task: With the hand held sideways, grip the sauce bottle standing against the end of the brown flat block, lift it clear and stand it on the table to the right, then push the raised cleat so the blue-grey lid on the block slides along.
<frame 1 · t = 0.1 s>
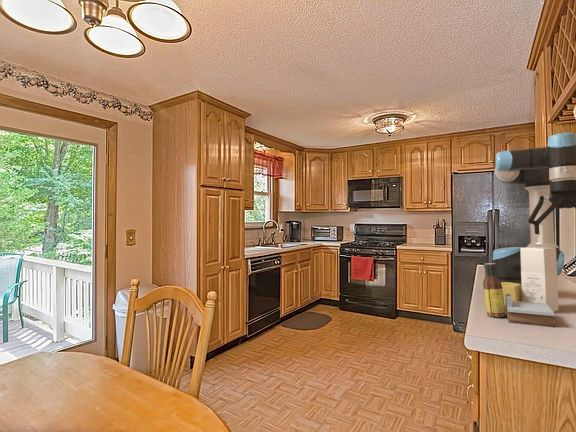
hand: (566, 244, 110), 28 cm above the table, tool pointing down, fingers open, 13 cm apart
tall white carton: (540, 310, 134), on the table
lid: (527, 303, 121), point 6 cm above the table, slide at 0.0 cm
sauce bottle: (495, 316, 126), on the table
brown flat block: (528, 319, 121), on the table
cheese: (505, 308, 139), on the table
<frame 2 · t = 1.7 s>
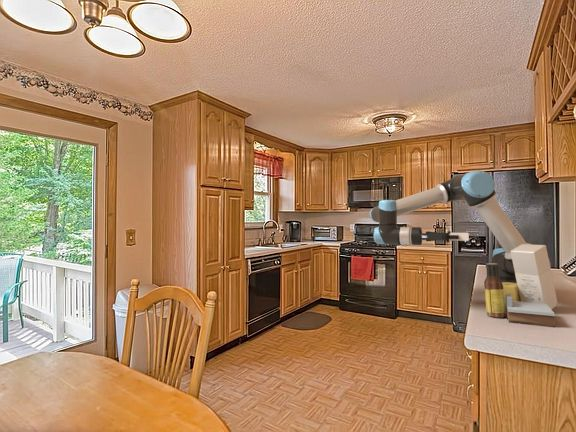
hand: (468, 236, 131), 30 cm above the table, tool horizontal, fingers open, 13 cm apart
tall white carton: (540, 307, 134), point 1 cm above the table
everything else where it was.
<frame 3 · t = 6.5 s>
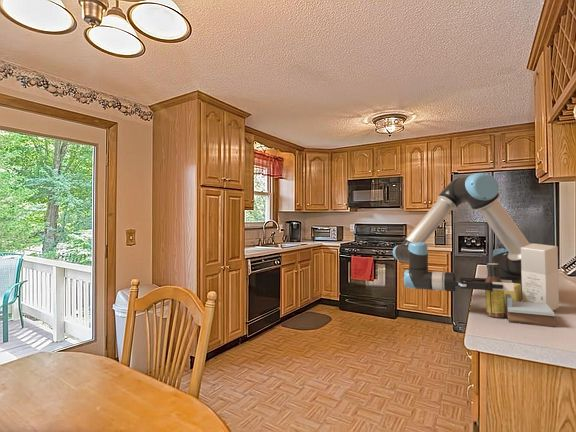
hand: (512, 285, 123), 12 cm above the table, tool horizontal, fingers closed on sauce bottle, 6 cm apart
tall white carton: (540, 307, 134), point 1 cm above the table, touching arm
sauce bottle: (495, 316, 126), on the table, touching gripper
everything else where it was.
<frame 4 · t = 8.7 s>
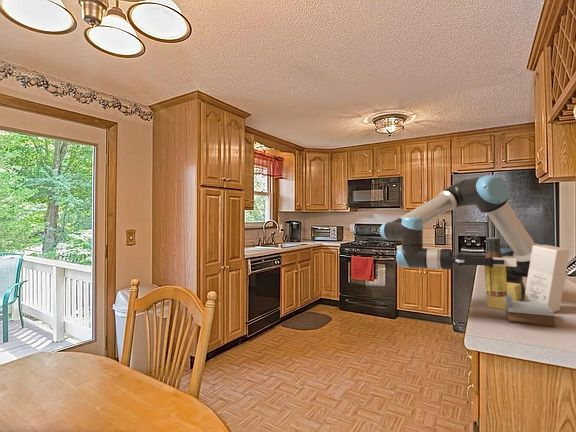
hand: (515, 261, 112), 22 cm above the table, tool horizontal, fingers closed on sauce bottle, 6 cm apart
tall white carton: (540, 308, 134), point 1 cm above the table
sauce bottle: (496, 296, 114), point 10 cm above the table, touching gripper
everything else where it was.
when the fingers open (12 cm above the table, at t = 10.9 s): sauce bottle stays where it is, on the table.
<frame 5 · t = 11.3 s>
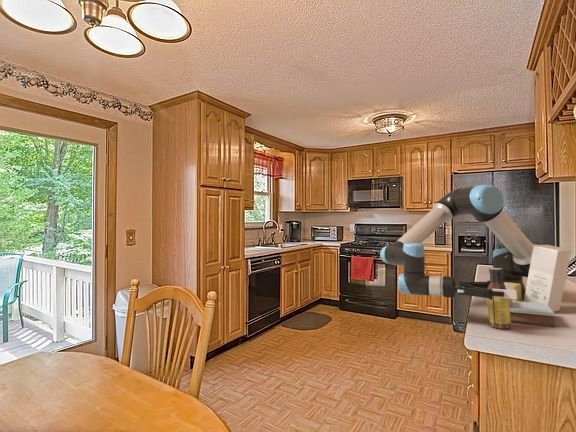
hand: (514, 291, 111), 12 cm above the table, tool horizontal, fingers open, 11 cm apart
tall white carton: (540, 308, 134), point 1 cm above the table, touching arm
sauce bottle: (499, 327, 113), on the table
everything else where it was.
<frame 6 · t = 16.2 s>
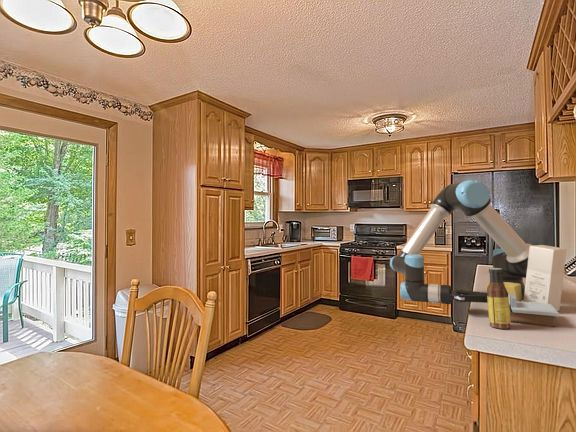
hand: (509, 299, 123), 7 cm above the table, tool horizontal, fingers closed
lid: (532, 303, 121), point 6 cm above the table, slide at 1.3 cm, touching gripper
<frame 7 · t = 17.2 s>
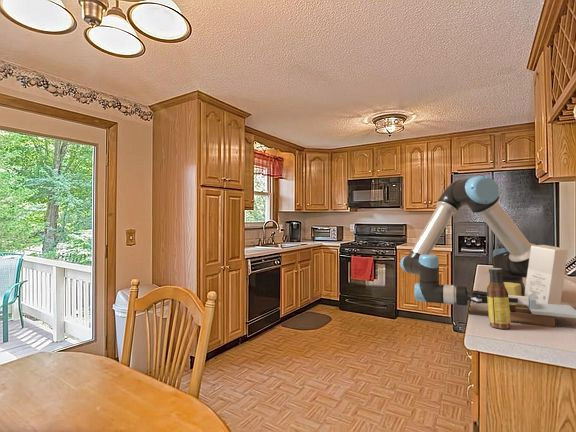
hand: (528, 300, 121), 7 cm above the table, tool horizontal, fingers closed
lid: (551, 305, 118), point 6 cm above the table, slide at 7.0 cm, touching gripper
everything else where it was.
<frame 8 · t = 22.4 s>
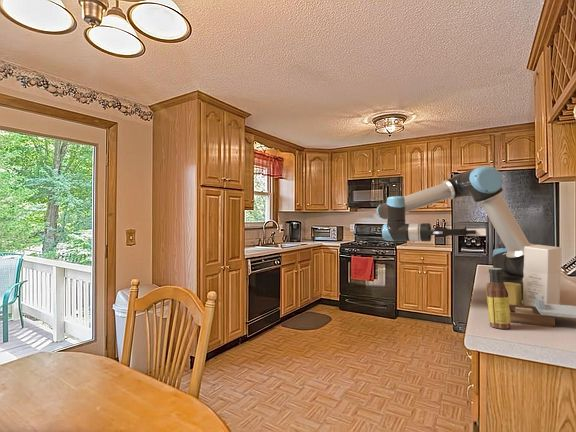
hand: (485, 231, 128), 32 cm above the table, tool horizontal, fingers closed
lid: (560, 305, 117), point 6 cm above the table, slide at 9.3 cm
at the end: lid slide at 9.3 cm; sauce bottle inside the target area (0.8 cm from its centre), on the table; sauce bottle tilted 0° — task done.
